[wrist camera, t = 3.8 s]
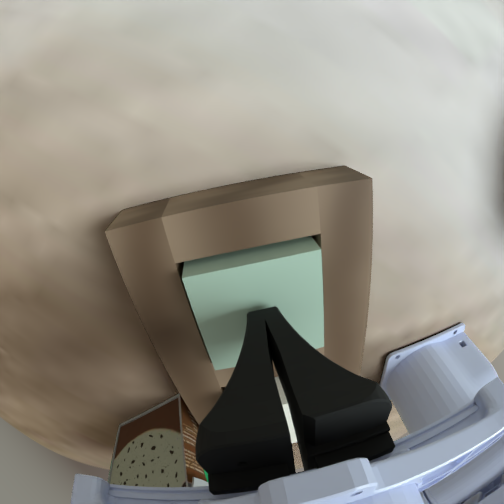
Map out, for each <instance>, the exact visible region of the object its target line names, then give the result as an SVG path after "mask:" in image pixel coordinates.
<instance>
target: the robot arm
mask: <svg viewBox="0 0 504 504" xmlns="http://www.w3.org/2000/svg"><path fill="white" fill-rule="evenodd" d="M464 329H465V324H464V323H460V324H458V325H456V326H454V327H452V328H450V329H448V330H446V331H443V332H441V333H439V334H437V335H434V336H432V337H430V338H427V339H425V340H423V341H420V342H418V343H415V344H413V345H410V346H408V347H405V348H403V349H400V350H397V351H395V352H392V353H390V354H389V355H388V356H387V358H386V362H385V366H384V370H383V374H382V378H381V382H380V385H379V384H378V383H377V382H374V381H371V380H369V379H366V378H363V377H361V376H359V375H356V374H354V373H352V372H350V371H348V370H347V369H345V368H343V367H341V366H340V365H338V364H336V363H334V362H333V361H331V360H330V359H328V358H327V357H325V356H324V355H323V354H321V353H320V352H319V351H317V350H316V349H315V348H314V347H312V346H311V345H310V344H309V343H308V342H307V341H306V340H305V339H304V338H303V337H301V336H300V335H299V333H298V332H297V331H296V330H295V329H294V328H293V327H292V326H291V325H290V324H289V322H288V321H287V320H286V319H285V318H284V316H283V315H282V313H281V312H280V310H279V309H278V308H277V307H276V306H274V307H270V308H265V309H260V310H255V311H251V312H248V313H247V325H246V331H245V336H244V341H243V345H242V348H241V352H240V355H239V358H238V361H237V364H236V366H235V369H234V371H233V373H232V375H231V378H230V380H229V382H228V383H227V385H226V387H225V389H224V391H223V393H222V394H221V396H220V397H219V399H218V400H217V402H216V403H215V405H214V406H213V408H212V409H211V411H210V412H209V413H208V414H207V416H206V417H205V418H204V419H203V420H202V422H201V423H200V424H199V428H198V432H197V437H196V445H195V451H196V461H197V463H198V464H199V465H200V466H201V467H202V468H203V469H204V470H205V471H206V472H207V473H208V484H209V486H200V487H141V486H126V485H116V484H109V483H108V482H107V481H105V480H104V479H102V478H99V477H96V476H90V475H83V474H75V478H74V484H73V491H72V498H71V504H504V384H503V382H502V381H501V380H500V379H499V377H498V375H497V372H496V370H495V369H494V367H493V366H492V365H491V363H490V362H489V361H488V360H487V358H486V357H485V356H484V355H483V354H482V352H481V351H480V350H479V349H478V348H477V347H476V345H475V344H474V343H473V342H472V341H471V340H470V338H469V337H468V336H467V335H466V334H465V333H464ZM272 360H273V361H272ZM273 363H274V366H275V369H276V371H277V374H278V377H279V380H280V382H281V385H282V388H283V391H284V393H285V396H286V399H287V402H288V406H289V410H290V414H291V418H292V422H293V426H294V430H295V434H296V438H297V442H298V446H299V450H300V454H301V458H302V463H303V467H304V471H303V472H298V473H296V472H295V465H294V457H293V450H292V443H291V436H290V432H289V428H288V424H287V420H286V417H285V413H284V410H283V406H282V403H281V399H280V395H279V392H278V388H277V384H276V381H275V377H274V369H273ZM390 400H392V402H393V404H394V406H395V408H396V410H397V411H398V413H399V415H400V417H401V419H402V421H403V423H404V425H405V427H406V429H407V430H408V432H409V435H407V436H405V437H403V438H401V439H398V440H396V441H393V440H392V438H391V436H390V433H389V431H390V427H389V425H388V423H387V419H388V416H389V414H390V411H391V409H392V403H391V401H390Z"/></svg>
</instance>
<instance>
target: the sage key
mask: <svg viewBox="0 0 504 504" xmlns="http://www.w3.org/2000/svg"><path fill="white" fill-rule="evenodd" d="M182 280H183V283H184V286H185V289H186V292H187V295H188V298H189V301H190V304H191V307H192V310H193V312H194V315H195V318H196V321H197V324H198V326H199V329H200V332H201V335H202V337H203V340H204V343H205V345H206V348H207V351H208V353H209V356H210V359H211V361H212V364H213V366H214V369H215V370H220V369H226V368H232V367H235V366H236V364H237V361H238V358H239V355H240V352H241V348H242V345H243V341H244V336H245V331H246V325H247V313H248V312H251V311H255V310H260V309H265V308H270V307H274V306H276V307H277V308H278V309H279V310H280V312H281V313H282V315H283V316H284V318H285V319H286V320H287V321H288V322H289V324H290V325H291V326H292V327H293V328H294V329H295V330H296V331H297V332H298V333H299V335H300V336H301V337H303V338H304V339H305V340H306V341H307V342H308V343H309V344H310V345H311V346H312V347H314V348H315V349H318V348H321V347H324V305H323V275H322V254H321V248H320V247H319V246H318V244H317V243H316V242H315V240H314V239H313V238H312V237H311V236H307V237H302V238H297V239H292V240H287V241H282V242H277V243H272V244H267V245H262V246H257V247H252V248H248V249H243V250H238V251H233V252H228V253H223V254H218V255H213V256H209V257H204V258H199V259H194V260H189V261H184V267H183V274H182Z"/></svg>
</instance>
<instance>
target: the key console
mask: <svg viewBox="0 0 504 504" xmlns="http://www.w3.org/2000/svg"><path fill="white" fill-rule="evenodd" d="M105 234H106V237H107V240H108V243H109V245H110V248H111V251H112V253H113V256H114V258H115V261H116V264H117V266H118V269H119V271H120V274H121V276H122V278H123V281H124V283H125V286H126V288H127V290H128V293H129V295H130V297H131V299H132V302H133V304H134V306H135V308H136V311H137V313H138V315H139V317H140V319H141V321H142V323H143V325H144V328H145V330H146V332H147V334H148V336H149V338H150V340H151V342H152V344H153V346H154V348H155V350H156V352H157V353H158V355H159V357H160V359H161V361H162V363H163V365H164V367H165V368H166V370H167V372H168V374H169V376H170V378H171V379H172V381H173V383H174V385H175V386H176V388H177V390H178V392H179V393H180V395H181V397H182V398H183V400H184V402H185V403H186V405H187V407H188V408H189V410H190V411H191V413H192V415H193V416H194V418H195V419H196V421H197V423H198V424H200V423H201V422H202V420H203V419H204V418H205V417H206V416H207V414H208V413H209V412H210V411H211V409H212V408H213V406H214V405H215V403H216V402H217V400H218V399H219V397H220V396H221V394H222V393H223V391H224V389H225V387H226V385H227V383H228V382H229V380H230V378H231V375H232V373H233V371H234V369H235V367H232V368H226V369H220V370H215V369H214V366H213V364H212V361H211V359H210V356H209V353H208V351H207V348H206V345H205V343H204V340H203V337H202V335H201V332H200V329H199V326H198V324H197V321H196V318H195V315H194V312H193V310H192V307H191V304H190V301H189V298H188V295H187V292H186V289H185V286H184V283H183V280H182V274H183V267H184V261H189V260H194V259H199V258H204V257H209V256H213V255H218V254H223V253H228V252H233V251H238V250H243V249H248V248H252V247H257V246H262V245H267V244H272V243H277V242H282V241H287V240H292V239H297V238H302V237H307V236H311V237H312V238H313V239H314V240H315V242H316V243H317V244H318V246H319V247H320V248H321V254H322V275H323V305H324V347H321V348H318V349H316V350H317V351H319V352H320V353H321V354H323V355H324V356H325V357H327V358H328V359H330V360H331V361H333V362H334V363H336V364H338V365H340V366H341V367H343V368H345V369H347V370H348V371H350V372H352V373H354V374H356V375H359V376H360V371H361V364H362V358H363V351H364V343H365V335H366V327H367V317H368V307H369V296H370V282H371V265H372V239H373V190H372V178H370V177H368V176H366V175H364V174H362V173H360V172H358V171H355V170H353V169H351V168H349V167H347V166H340V167H332V168H325V169H318V170H311V171H305V172H298V173H292V174H286V175H280V176H274V177H268V178H263V179H257V180H252V181H246V182H241V183H236V184H231V185H226V186H221V187H216V188H211V189H207V190H202V191H197V192H193V193H189V194H184V195H180V196H175V197H171V198H167V199H163V200H159V201H155V202H151V203H147V204H143V205H139V206H135V207H131V208H128V209H124V210H122V211H121V212H120V213H119V215H118V216H117V217H116V218H115V219H114V221H113V222H112V223H111V224H110V226H109V227H108V228H107V229H106V231H105ZM272 361H273V360H272ZM273 369H274V377H278V374H277V371H276V369H275V366H274V363H273Z"/></svg>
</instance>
